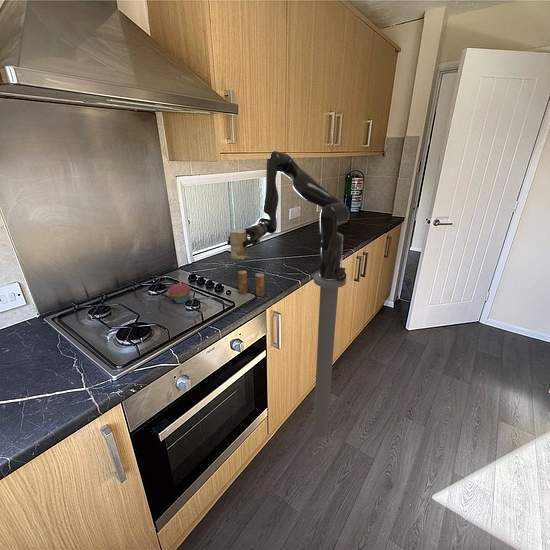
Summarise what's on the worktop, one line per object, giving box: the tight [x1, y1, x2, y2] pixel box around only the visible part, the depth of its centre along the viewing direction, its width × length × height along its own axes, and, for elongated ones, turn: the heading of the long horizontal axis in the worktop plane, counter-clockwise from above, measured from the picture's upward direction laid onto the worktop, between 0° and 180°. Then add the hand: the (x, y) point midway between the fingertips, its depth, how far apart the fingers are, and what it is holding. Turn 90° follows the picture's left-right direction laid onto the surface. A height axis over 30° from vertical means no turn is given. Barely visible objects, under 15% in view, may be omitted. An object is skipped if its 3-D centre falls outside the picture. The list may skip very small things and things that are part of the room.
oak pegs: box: [237, 270, 266, 297], centre depth 122 cm, size 12×4×9 cm, turn 68°
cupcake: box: [167, 275, 192, 304], centre depth 116 cm, size 9×8×12 cm
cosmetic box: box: [229, 229, 248, 260], centre depth 127 cm, size 6×4×12 cm
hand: (235, 244), depth 125 cm, fingers closed on cosmetic box, 7 cm apart
